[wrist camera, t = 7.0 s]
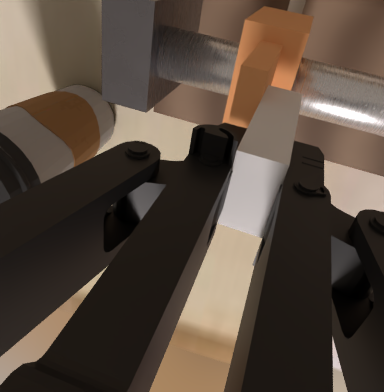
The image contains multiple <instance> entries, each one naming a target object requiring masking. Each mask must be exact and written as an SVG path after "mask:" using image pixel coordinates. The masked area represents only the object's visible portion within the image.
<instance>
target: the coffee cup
mask: <svg viewBox="0 0 384 392" xmlns="http://www.w3.org/2000/svg"><path fill="white" fill-rule="evenodd" d="M113 130H114V115H113V112H112V109H111V107H110V105H109V103H108V102H107V101H104V100H102V95H101V94H100V93H98V92H97V91H95V90H94V89H91V88H89V87H86V86H83V85H72V86H68V87H66V88H63V89H60V90H57V91H54V92H50V93H46V94H43V95H40V96H37V97H34V98H31V99H28V100H25V101H23V102H20V103H17V104H14V105H11V106H8V107H7V108H5V109H3V110H0V204H1V203H3V202H5V201H7V200H9V199H11V198H13V197H15V196H17V195H19V194H21V193H23V192H25V191H27V190H29V189H31V188H33V187H35V186H37V185H39V184H41V183H43V182H45V181H47V180H49V179H51V178H53V177H55V176H57V175H59V174H61V173H63V172H65V171H67V170H69V169H71V168H73V167H75V166H77V165H79V164H81V163H83V162H85V161H87V160H89V159H91V158H93V157H94V156H95V155H96V154H97V152H98V151H99V150H100V149H101V148H102V147H103V146H104V145H105V144H106V143H107V142H108V140H109V139H110V138H111V136H112V134H113Z"/></svg>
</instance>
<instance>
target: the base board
mask: <svg viewBox="0 0 384 392" xmlns="http://www.w3.org/2000/svg"><path fill="white" fill-rule="evenodd" d="M264 6H267V7H271V8H276V9H281V10H285V11H290V12H294V13H299V14H304V15H308V16H313V17H314V18H313V22H312V26H311V30H310V34H309V37H308V40H307V43H306V46H305V49H304V52H303V55H302V57H303V58H307V59H311V60H316V61H320V62H324V63H328V64H333V65H337V66H341V67H345V68H349V69H354V70H358V71H362V72H366V73H371V74H375V75H379V76H383V77H384V0H203V5H202V11H201V18H200V25H199V31H198V33H201V34H206V35H210V36H214V37H218V38H223V39H227V40H231V41H235V42H240V40H241V35H242V31H243V26H244V22H245V19H246V18H248V17H249V16H251V15H252V14H254V13H255V12H257V11H258V10H260V9H261V8H263V7H264ZM227 99H228V95H224V94H220V93H216V92H213V91H209V90H205V89H201V88H197V87H194V86H190V85H186V84H180V85H179V86H178V87H177V88H176V89H174V90H173V91H172V92H171V93H169V94H168V95H167V96H166V97H165V98H163V99H162V100H161V101H160V102H159V103H157V104H156V105H155V106H154V112H157V113H160V114H164V115H167V116H171V117H175V118H178V119H182V120H185V121H189V122H192V123H196V124H199V125H203V124H213V125H220V124H222V122H223V117H224V113H225V108H226V104H227ZM294 141H298V142H301V143H305V144H309V145H312V146H316V147H319V149H320V150H321V151H322V153H323V154H324V160H327V161H330V162H334V163H338V164H341V165H345V166H348V167H352V168H355V169H359V170H362V171H366V172H369V173H373V174H377V175H380V176H384V137H383V136H379V135H375V134H372V133H368V132H364V131H360V130H357V129H353V128H349V127H345V126H341V125H338V124H334V123H330V122H326V121H322V120H319V119H315V118H311V117H307V116H303V115H300V114H299V116H298V122H297V127H296V132H295V138H294Z"/></svg>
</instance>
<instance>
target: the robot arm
mask: <svg viewBox="0 0 384 392" xmlns="http://www.w3.org/2000/svg"><path fill="white" fill-rule="evenodd" d="M302 95H303V94H302V93H298V92H294V91H290V90H286V89H282V88H278V87H274V86H270V85H268V87H267V89H266V91H265V93H264V95H263V97H262V99H261V101H260V103H259V105H258V107H257V109H256V111H255V113H254V115H253V118H252V120H251V122H250V124H249V126H248V128H243V127H240V126H236V125H233V124H229V123H222V124H220V125H213V124H203V125H198V126H196V127H195V128H193V132H192V137H191V143H190V149H189V154H188V156H187V157H186V158H185V160H184V161H168V160H160V154H161V153H160V151H159V150H158V148H156V147H155V146H153V145H151V144H148V143H146V142H142V141H141V142H140V141H131V142H125V143H122V144H119V145H117V146H115V147H113V148H111V149H109V150H107V151H105V152H103V153H101V154H99V155H97V156H95V157H93V158H91V159H89V160H87V161H85V162H83V163H81V164H79V165H77V166H75V167H73V168H71V169H69V170H67V171H65V172H63V173H61V174H59V175H57V176H55V177H53V178H51V179H49V180H47V181H45V182H43V183H41V184H39V185H37V186H35V187H33V188H31V189H29V190H27V191H25V192H23V193H21V194H19V195H17V196H15V197H13V198H11V199H9V200H7V201H5V202H3V203H1V204H0V357H1V356H2V355H3V354H4V353H5V352H7V351H8V350H9V349H10V348H11V347H13V346H14V345H15V344H16V343H17V342H18V341H20V340H21V339H22V338H23V337H24V336H26V335H27V334H28V333H29V332H30V331H31V330H32V329H34V328H35V327H36V326H37V325H38V324H40V323H41V322H42V321H43V320H44V319H45V318H47V317H48V316H49V315H50V314H51V313H53V312H54V311H55V310H56V309H57V308H59V307H60V306H61V305H62V304H63V303H64V302H66V301H67V300H68V299H69V298H70V297H72V296H73V295H74V294H75V293H76V292H77V291H79V290H80V289H81V288H82V287H83V286H85V285H86V284H87V283H88V282H89V281H90V280H92V279H93V278H94V277H95V276H96V275H98V274H99V273H100V272H101V271H102V270H103V269H105V268H106V267H107V266H108V265H109V266H108V267H107V268H106V270H105V271H104V272H103V274H102V275H101V277H100V278H99V279H98V281H97V282H96V284H95V285H94V286H93V288H92V289H91V291H90V292H89V293H88V295H87V296H86V298H85V299H84V300H83V302H82V303H81V304H80V306H79V307H78V309H77V310H76V311H75V313H74V314H73V316H72V317H71V318H70V320H69V321H68V323H67V324H66V326H65V327H64V328H63V330H62V331H61V332H60V334H59V335H58V337H57V338H56V340H55V341H54V342H53V344H52V345H51V346H50V348H49V349H48V350H47V352H46V353H45V354H44V355H43V356H42V357H41V358H40V359H39V360H37V361H36V362H31V363H25V364H23V365H21V366H20V367H18V368H17V369H16V370H14V371H13V372H12V373H11V374H10V375H9V376H8V377H7V378H6V380H5V381H4V382H3V383H2V384H1V385H0V392H149V391H150V388H151V385H152V383H153V381H154V378H155V376H156V373H157V371H158V368H159V366H160V364H161V361H162V359H163V357H164V354H165V352H166V349H167V347H168V345H169V342H170V340H171V337H172V335H173V332H174V330H175V328H176V325H177V323H178V320H179V318H180V316H181V313H182V311H183V308H184V306H185V303H186V301H187V299H188V296H189V294H190V291H191V289H192V286H193V284H194V282H195V279H196V277H197V274H198V272H199V269H200V267H201V265H202V262H203V260H204V257H205V255H206V253H207V250H208V248H209V245H210V243H211V240H212V238H213V236H214V233H215V229H216V225H217V221H218V224H221V225H224V226H227V227H230V228H233V229H236V230H239V231H242V232H245V233H248V234H251V235H254V236H257V237H260V238H262V237H263V238H262V241H261V244H260V246H259V249H258V252H257V255H256V257H255V260H254V263H253V265H254V270H253V274H252V279H251V283H250V287H249V291H248V295H247V299H246V303H245V307H244V311H243V316H242V320H241V324H240V328H239V332H238V336H237V340H236V344H235V348H234V352H233V357H232V361H231V365H230V369H229V373H228V377H227V381H226V385H225V389H224V392H333V357H332V336H333V339H334V343H335V347H336V350H337V354H338V358H339V361H340V365H341V369H342V372H343V376H344V380H345V383H346V387H347V390H348V392H384V212H380V211H376V210H363V211H360V212H359V213H358V215H357V216H356V218H354V217H352V216H350V215H348V214H347V213H345V212H343V211H341V210H339V209H337V208H336V207H335V206H333V205H332V204H331V195H330V192H329V190H328V189H327V188H326V187H325V186H324V154H323V153H322V151H321V150H320V149H319V147H316V146H312V145H309V144H305V143H301V142H298V141H294V138H295V132H296V127H297V122H298V116H299V111H300V106H301V100H302ZM218 219H219V220H218ZM263 235H264V236H263Z"/></svg>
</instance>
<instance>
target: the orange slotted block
mask: <svg viewBox="0 0 384 392" xmlns="http://www.w3.org/2000/svg"><path fill="white" fill-rule="evenodd" d="M313 18H314V17H313V16H308V15H304V14H299V13H294V12H290V11H285V10H281V9H276V8H271V7H267V6H264V7H263V8H261V9H260V10H258V11H257V12H255V13H254V14H252V15H251V16H249V17H248V18H246V19H245V22H244V26H243V31H242V35H241V40H240V45H239V49H238V54H237V58H236V63H235V67H234V72H233V76H232V81H231V86H230V90H229V95H228V99H227V104H226V108H225V113H224V117H223V122H222V123H229V124H233V125H236V126H240V127H243V128H248V126H249V124H250V122H251V120H252V118H253V115H254V113H255V111H256V109H257V107H258V105H259V103H260V101H261V99H262V97H263V95H264V93H265V91H266V89H267V87H268V85H270V86H274V87H278V88H282V89H286V90H290V91H291V89H292V86H293V83H294V80H295V77H296V74H297V71H298V68H299V65H300V62H301V58H302V55H303V52H304V49H305V46H306V43H307V40H308V37H309V34H310V30H311V26H312V22H313Z"/></svg>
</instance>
